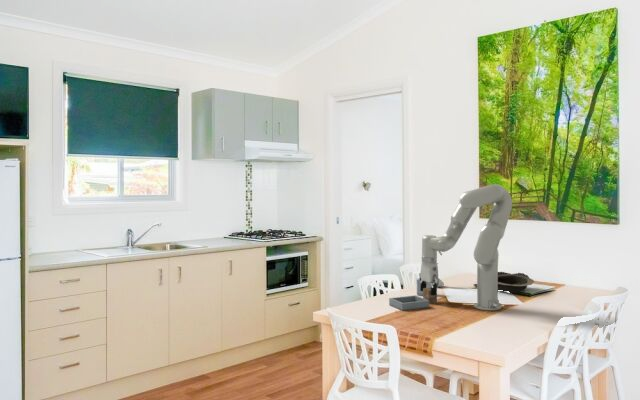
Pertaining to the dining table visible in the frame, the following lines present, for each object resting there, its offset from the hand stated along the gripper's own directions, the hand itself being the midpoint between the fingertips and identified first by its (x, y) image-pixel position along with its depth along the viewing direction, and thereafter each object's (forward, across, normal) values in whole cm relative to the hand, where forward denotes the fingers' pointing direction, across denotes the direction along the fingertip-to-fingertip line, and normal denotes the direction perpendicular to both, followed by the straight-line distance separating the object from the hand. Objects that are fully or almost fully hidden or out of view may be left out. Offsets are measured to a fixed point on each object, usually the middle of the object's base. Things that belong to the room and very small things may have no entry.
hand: (428, 293), depth 271 cm
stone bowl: (+4, +4, -56) cm, 56 cm away
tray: (+5, -4, +13) cm, 15 cm away
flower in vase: (+5, +33, -25) cm, 41 cm away
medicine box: (+5, +16, -8) cm, 19 cm away
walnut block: (+5, -1, -1) cm, 5 cm away
